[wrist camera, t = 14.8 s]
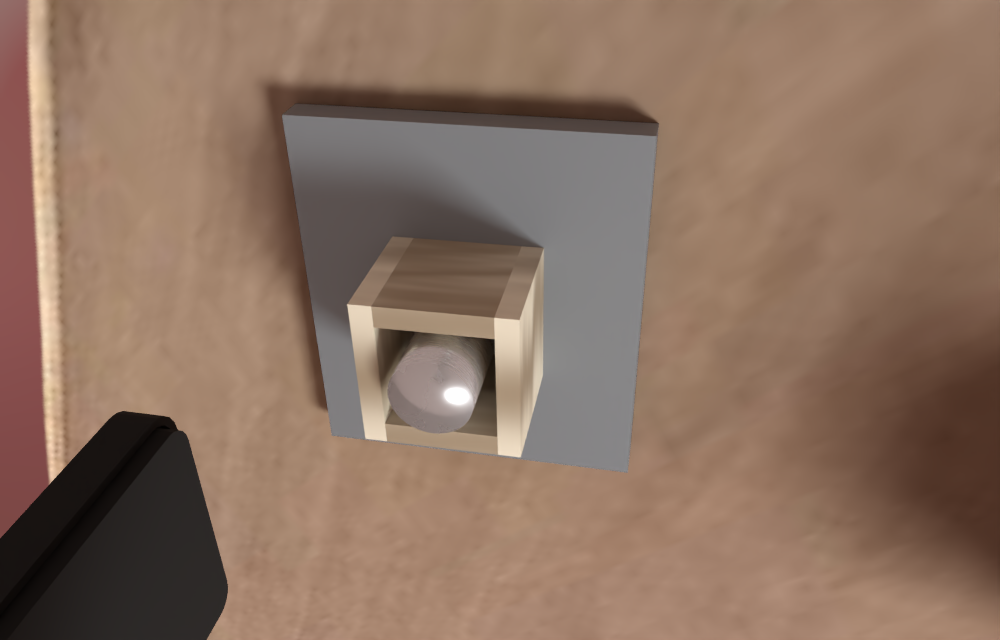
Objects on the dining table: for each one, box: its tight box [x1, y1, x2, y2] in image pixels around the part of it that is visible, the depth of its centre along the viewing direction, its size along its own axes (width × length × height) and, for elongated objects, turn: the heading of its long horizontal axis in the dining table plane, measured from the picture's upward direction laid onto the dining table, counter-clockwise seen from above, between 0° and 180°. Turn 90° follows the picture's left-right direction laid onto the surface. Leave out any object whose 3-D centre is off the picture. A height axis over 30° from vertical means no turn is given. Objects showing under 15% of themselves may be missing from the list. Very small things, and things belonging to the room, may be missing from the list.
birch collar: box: [347, 236, 544, 457], centre depth 38 cm, size 7×7×6 cm
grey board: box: [282, 104, 659, 473], centre depth 41 cm, size 18×16×2 cm
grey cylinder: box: [387, 332, 495, 434], centre depth 38 cm, size 4×4×7 cm
